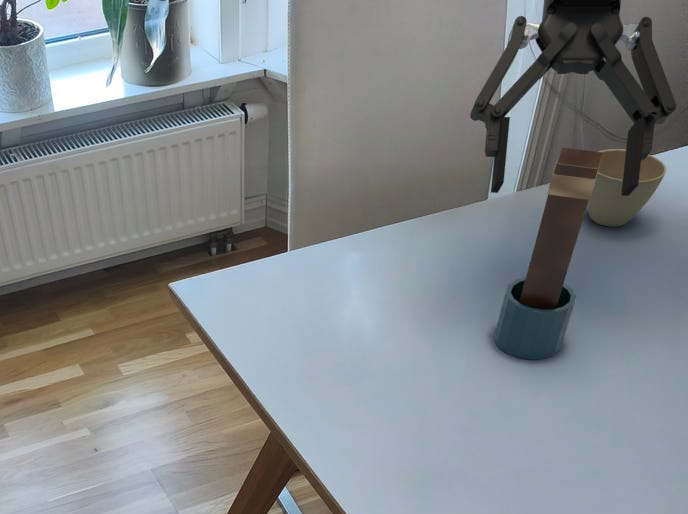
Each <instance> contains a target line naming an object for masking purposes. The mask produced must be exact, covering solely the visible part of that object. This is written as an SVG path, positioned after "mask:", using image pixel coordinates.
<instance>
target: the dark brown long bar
mask: <svg viewBox="0 0 688 514" xmlns="http://www.w3.org/2000/svg"><path fill="white" fill-rule="evenodd" d="M601 156H602V152H599V151H593V150H586V149H578V148H569V147H561V148H560V150H559V155H558V157H557V159H556V162H555V166H554V169H553V171H552V175H551V179H550V182H549V186H548V190H547V192H546V193H547V198H546V201H545V205H544V208H543V212H542V216H541V220H540V222H539V227H538V231H537V234H536V238H535V242H534V246H533V250H532V254H531V258H530V261H529V265H528V269H527V272H526V276H525V277H526V279H525V283H524V287H523V291H522V294H521V298H520V302H519V303H520V304H523V305H525V306H528V307H530V308H535V309H541V310H547V309H556V306H557V303H558V300H559V297H560V293H561V290H562V287H563V283H564V284H565V280H566V276H567V273H568V271H569V266H570V263H571V260H572V257H573V254H574V250H575V246H576V244H577V241H578V237H579V234H580V230H581V227H582V223H583V222H584V221H583V220H584V217H585V214H586V211H587V209H588V208H587V204H588V201H589V200H590V198H591V195H592V191H593V188H594V185H595V182H596V178H597V174H598V170H599V166H600V160H601Z"/></svg>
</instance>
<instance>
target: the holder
mask: <svg viewBox="0 0 688 514" xmlns="http://www.w3.org/2000/svg"><path fill="white" fill-rule="evenodd" d="M525 279H526V276H524V277H520V278H516V279H515V280H513V281H511V282H510V283H509V284H507V287H506V289H505V293H504V297H503V300H502V304H501V308H500V311H499V312H500V313H499V317H498V319H497V324H496V328H495V332H494V342H495V344H496V346H497V347H498V348H499V349H500V350H501V351H502V352H504V353H505V354H508V355H509V356H512V357H515V358H519V359H523V360H543V359H547V358H550V357H552V356H554V355H556V354H557V353H558V352H559V351H560V349H561V347H562V345H563V341H564V338H565V335H566V333H567V329H568V326H569V323H570V319H571V316H572V313H573V310H574V307H575V303H576V301H577V295H576V294H575V291H574V289H573V288H572V287H570V286H569V285H567V284H566V283H565V282H564V283H563V287H562V290H561V293H560V297H559V300H558V303H557V306H556V309H547V310H541V309H535V308H530V307H528V306H525V305H523V304H520V303H519V302H520V298H521V294H522V291H523V287H524V283H525Z"/></svg>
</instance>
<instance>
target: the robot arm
mask: <svg viewBox="0 0 688 514" xmlns="http://www.w3.org/2000/svg"><path fill="white" fill-rule="evenodd" d="M621 6H622V0H543V7H542V17H541V22H540V23H533V22H527V17H525V16H523V15H519V16H517V17H516V18H515V20H514V22H513V25H512V26H511V29H510V32H509V34H508V38H507V44H506V47H505V48H504V50H503V52H502V53H501V56H500V58H499V59H498V60H497V63H496V64H495V66H494V67H493V70H492V71H491V73H490V75H489V77H488V78H487V80H486V82H485V84H484V85H483V87H482V89H481V91H480V92H479V94H478V96H476V97H477V98H476V99H475V101H474V103H473V106H472V109H471V111H470V114H469V117H470V119H471V120H472V121H475V122H478V121H480V122H483V123H484V127H485V129H486V132H485V133H486V134H485V143H484V154H485V157H486V158H493V162H492V163H493V164H492V165H493V166H492V174H491V185H490V193H491V194H498V193H499V191H500V190H501V188H502V186H503V185H504V183H505V174H506V173H505V172H506V161H507V151H508V143H509V130H510V120H511V117H510V116H507V115H508V114H509V113H510V111H511V110H513V108H514V107H515V106H516V105H517V104H518V103H519V102H520V101H521V100H522V99H523V97H524V96H525V95H526V94H527V93H528V92H529V91H530V90H531V89H532V88H533V86H535V85H536V84H537V82H538V81H540V80H541V79H542V78H543V77H544V76H545V75H546V74H547V73H548V71H550V69H552V70H554V71H555V72H556V74H557V75H567V74H570V73H575V74H578V75H588V74H589V73H591V72H592V71H593V73H594V75H596V77H597V79H599V80H600V81H603V82H604V83H605V85H606V86H607V88H608V89H609V90H610V92H611V93H612V95H613V96H614V97H615V99H616V100H617V101H618V103H619V104H620V107H622V109H623V110H624V111H625V113H626V114H627V117H629V118H630V120H631V122H632V123H633V124H632V126H631V127H630V128H629V129H628V131H627V138H626V139H627V140H626V148H625V150H626V156H625V165H624V175H623V184H622V193H621V196H629V195H630V194H631V193H632V192H633V191H634V190H635V188H636V187H637V186H638V183H639V174H640V165H641V160H644V159H645V158H646V157H647V156H648V155H651V154H650V153H651V152H652V149H653V140H654V132H655V125H657V124H658V125H662V124H664V123H665V122H666V121H667V120H668V119H669V118H670V116H671V115H673V113H675V111H676V109H677V103H676V99H675V98H674V95H673V91H672V90H671V87H670V84H669V81H668V79H667V76H666V73H665V71H664V68H663V66H662V63H661V60H660V58H659V57H660V56H659V55H658V52H657V49H656V47H655V44H654V42H653V20H652V19H651V17H649V16H643V17H641V19H640V20H639V22H637V23H628V24H623V22H622V20H621V15H620V14H621ZM532 40H535V43H536V45H537V46H538V49H539V50H540V51H541V52H540V54H539V56H538V57H537V58H536V60H535V61H533V63H532V64H531V65H530V66H529V67H528V68H527V69H526V70H525V72H523V74H522V75H520V77H519V78H518V79H517V80H516V81H515V83H514V84H512V85H511V87H510V88H508V90H507V91H506V92H505V93H504V94H503V96H502V97H501V98H500V99H498V101H497V102H496V103H495V104H492V103H490V102H491V101H492V99H493V98H494V95H495V94H496V92H497V90H498V88H499V87H500V85H501V83H502V82H503V80H504V78H505V76H506V75H507V73H508V71H509V69H510V68H511V66H512V64H513V62H514V61H515V59H516V56H517V55H518V52H519V50H522V49H525V48H527V46H528V45H529V43H530V42H531V41H532ZM618 41H622V42H623V43H624V44H625V49H626V50H627V51H630V56H631V60H632V63H633V65H634V69H635V71H636V75H637V76H638V79H639V82H640V84H639V82H638V81H637V79H636V78H635V77H634V76H633V74H632V72H631V71H630V70H629V69H628V67H627V66H626V63H624V62H623V60H622V54H621V52H620V50H619V49H618V48H617V46H616V45H617V43H618Z"/></svg>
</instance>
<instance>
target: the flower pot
mask: <svg viewBox="0 0 688 514" xmlns="http://www.w3.org/2000/svg"><path fill="white" fill-rule="evenodd" d="M598 152H602V156H601V160H600V166H599V170H598V174H597V178H596V182H595V185H594V188H593V191H592V195H591V198H590V200H589V201H588V204H587V208H586V209H587V212H588V215H589V218H590V219H591V220H592V222H593V223H594V222H595V223H596V224H599V225H601V226H605V227H614V228H615V227H620V226H624V225H626V224H627V223H628V222H629V221H631V220H632V219H633V218H634V217H635V216H636V215H637V214H638V213H639V212H641V210H642V209H643V208H644V207H645V205H646V204H647V203H648V202H649V200H650V199H651V198H652V197H653V195H654V194H655V192H656V191H657V189H658V187H659V186H660V184H661V182H662V181H663V179H664V177H665V175H666V173H667V167H666V165H665V163H664V162H663V161H662V160H660V159H659V158H657V157H655V156H654V155H652V154H649V155H648V156H647V157H646V158H645V159H644V160H641V165H640V174H639V183H638V186H637V187H636V188H635V190H634V191H633V192H632V193H631V194H630V195H629V196H621V193H622V184H623V175H624V165H625V156H626V149H625V148H624V149H622V148H612V149H604V150H599V151H598Z"/></svg>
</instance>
